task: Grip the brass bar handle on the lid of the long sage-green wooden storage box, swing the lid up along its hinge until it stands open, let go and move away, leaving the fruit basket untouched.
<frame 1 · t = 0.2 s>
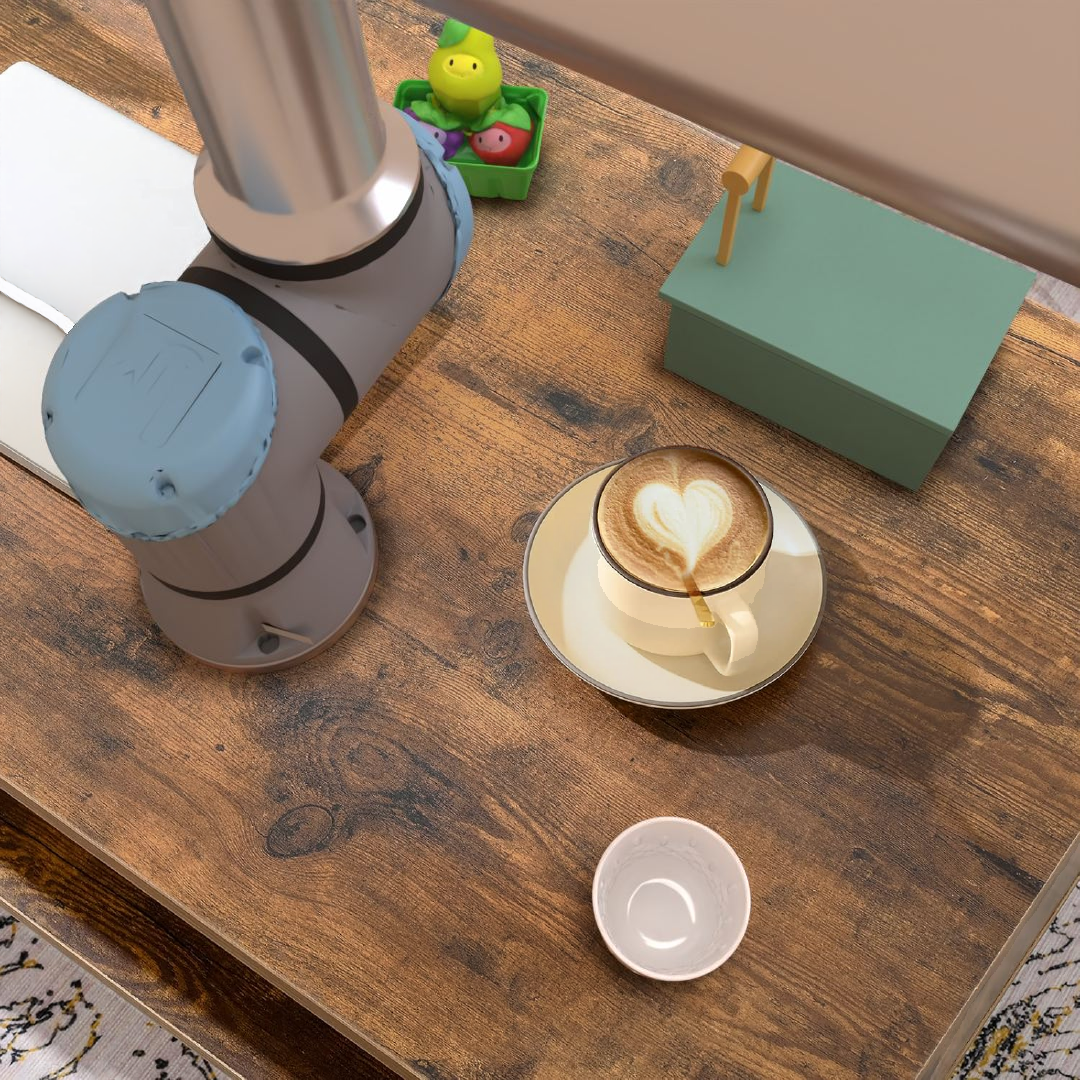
white cup: (658, 915, 67), on the table
lid: (861, 242, 70), point 12 cm above the table, hinge at 0.0°
chest: (828, 357, 81), on the table
fruit basket: (473, 166, 89), on the table
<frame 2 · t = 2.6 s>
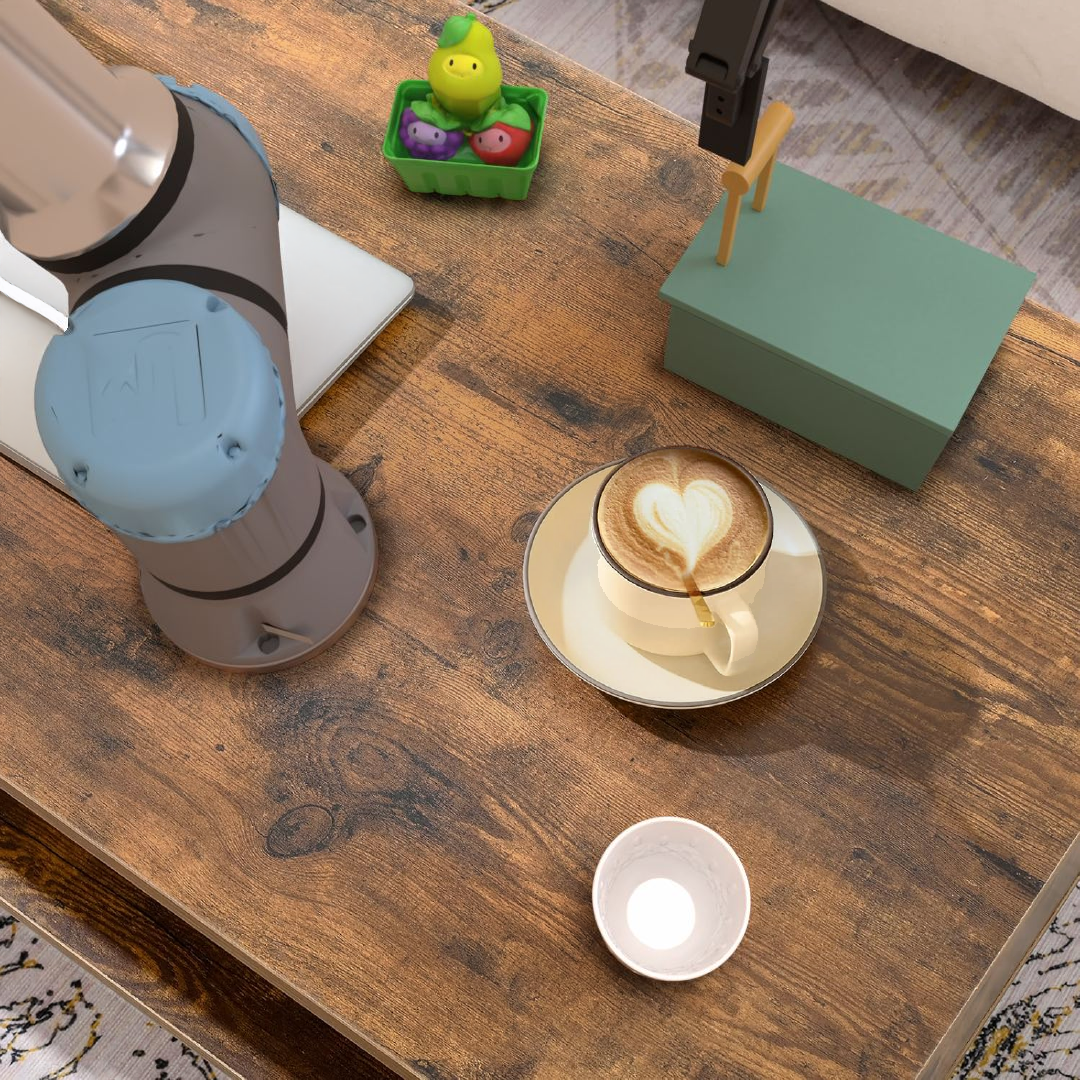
hand: (784, 65, 62), 23 cm above the table, tool pointing down, fingers open, 13 cm apart
nothing on the table moved.
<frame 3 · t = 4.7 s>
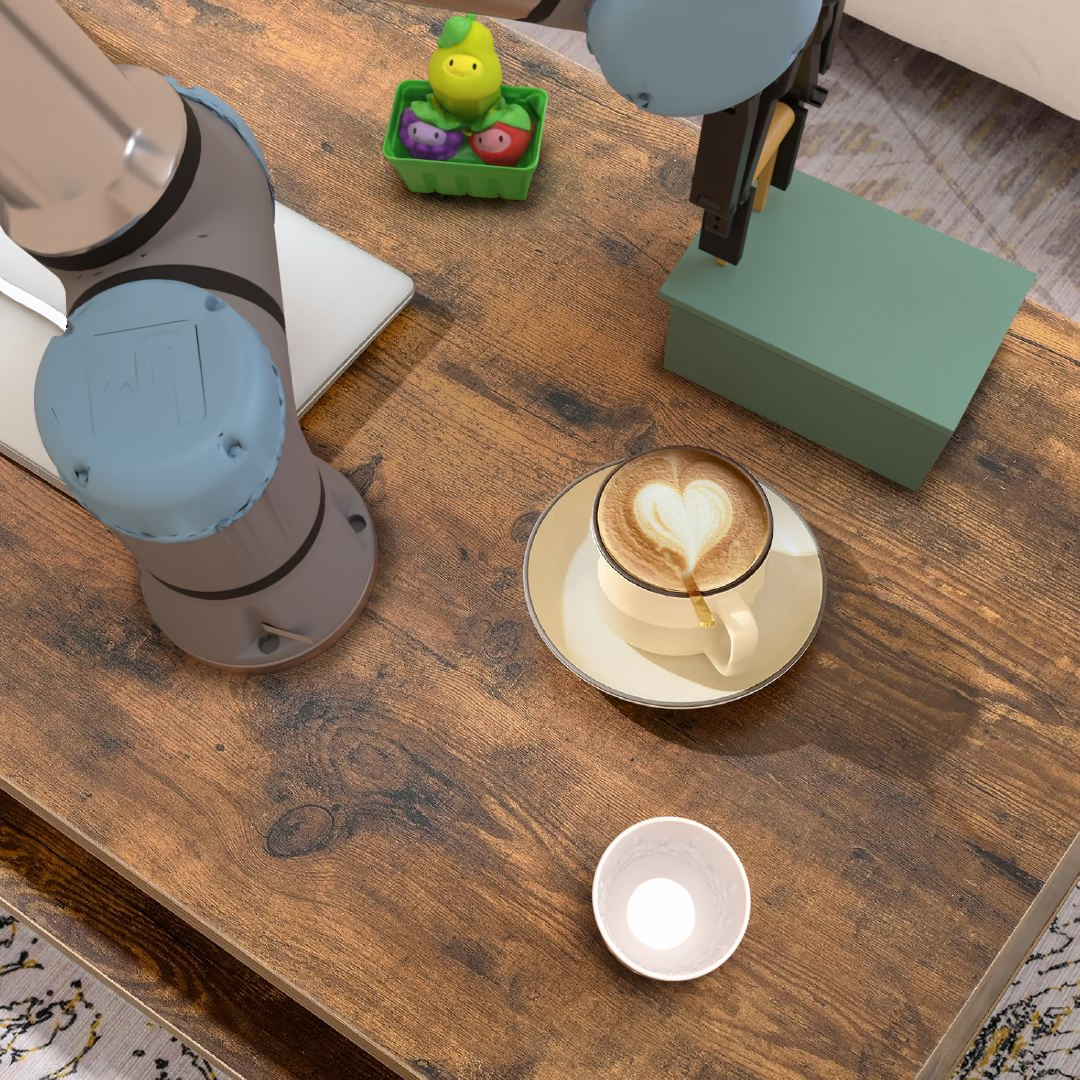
hand: (744, 215, 74), 10 cm above the table, tool pointing down, fingers closed on lid, 6 cm apart
lid: (861, 242, 70), point 12 cm above the table, hinge at 0.0°, touching gripper
everything else where it was.
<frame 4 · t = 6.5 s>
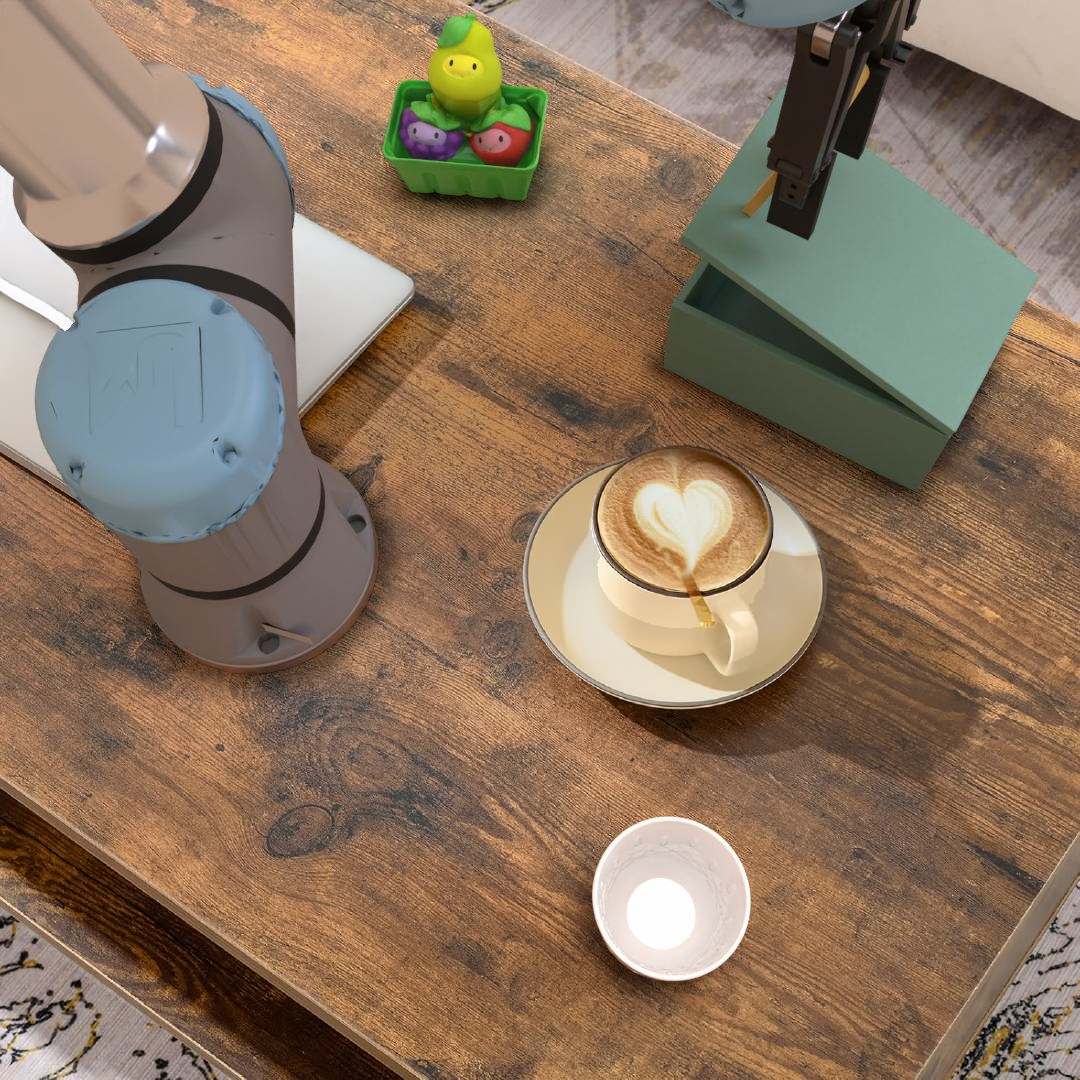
hand: (815, 185, 68), 15 cm above the table, tool pointing down, fingers closed on lid, 6 cm apart
lid: (903, 223, 67), point 15 cm above the table, hinge at 18.4°, touching gripper
everything else where it was.
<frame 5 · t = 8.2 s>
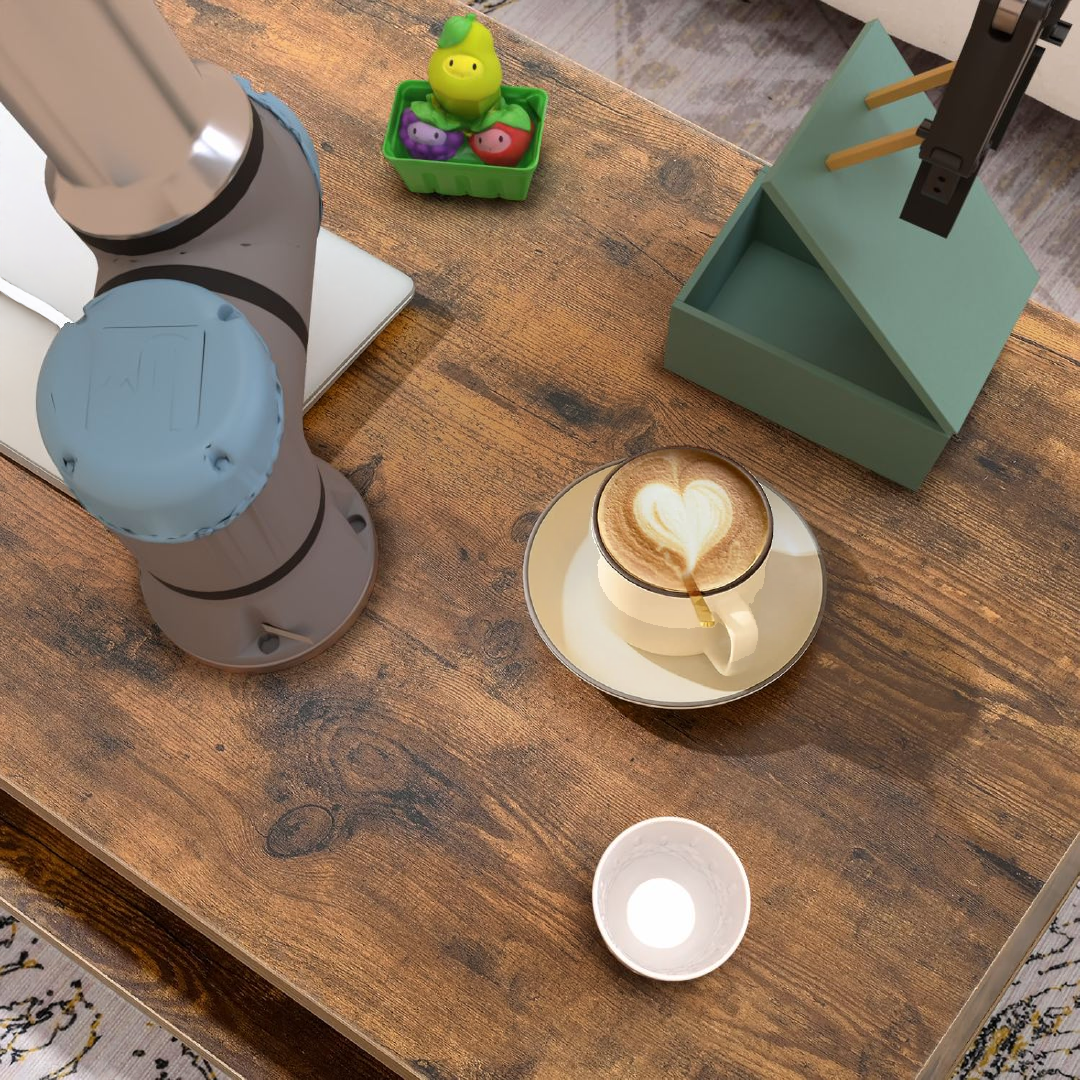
hand: (951, 178, 62), 20 cm above the table, tool pointing down, fingers closed on lid, 6 cm apart
lid: (979, 219, 64), point 18 cm above the table, hinge at 42.8°, touching gripper
everything else where it was.
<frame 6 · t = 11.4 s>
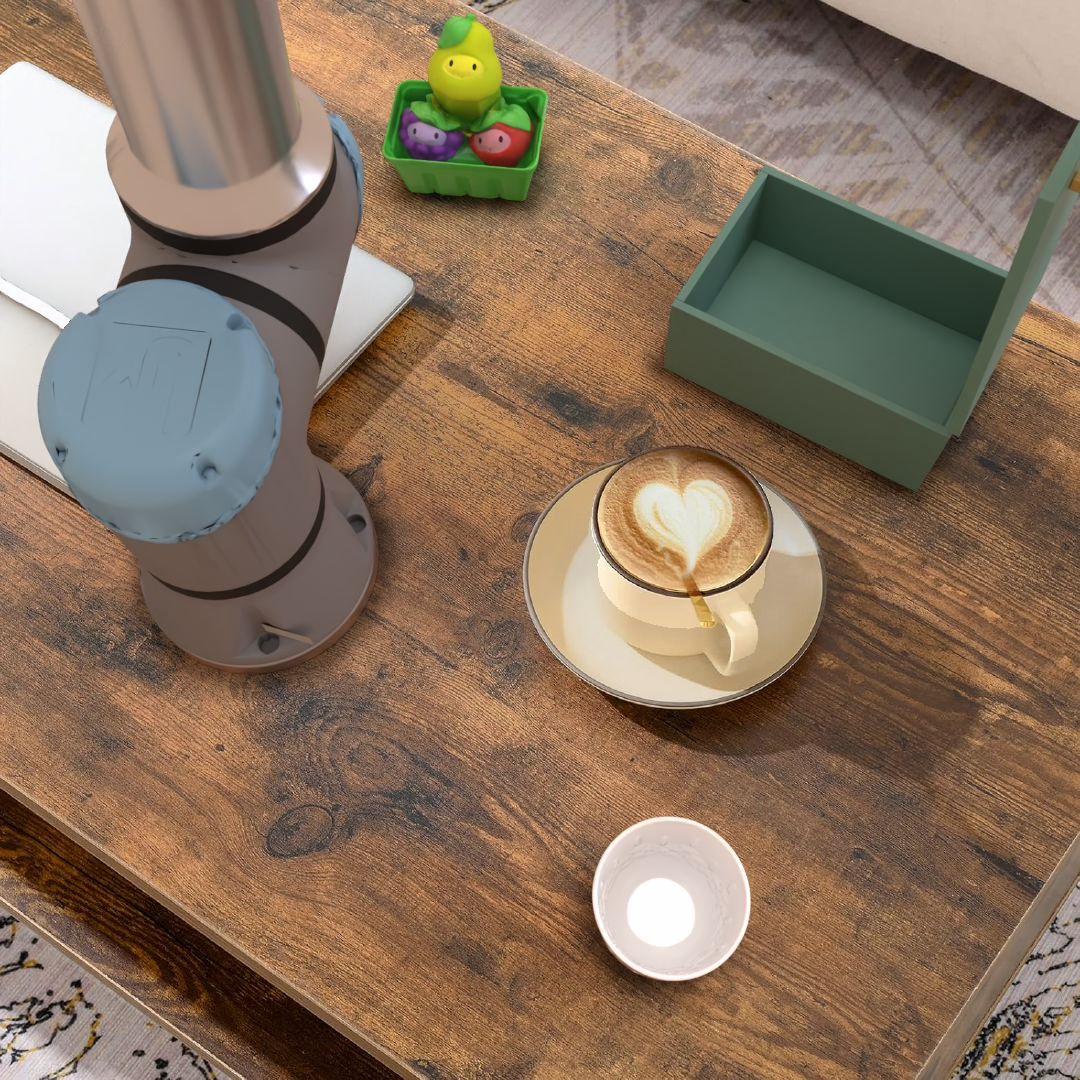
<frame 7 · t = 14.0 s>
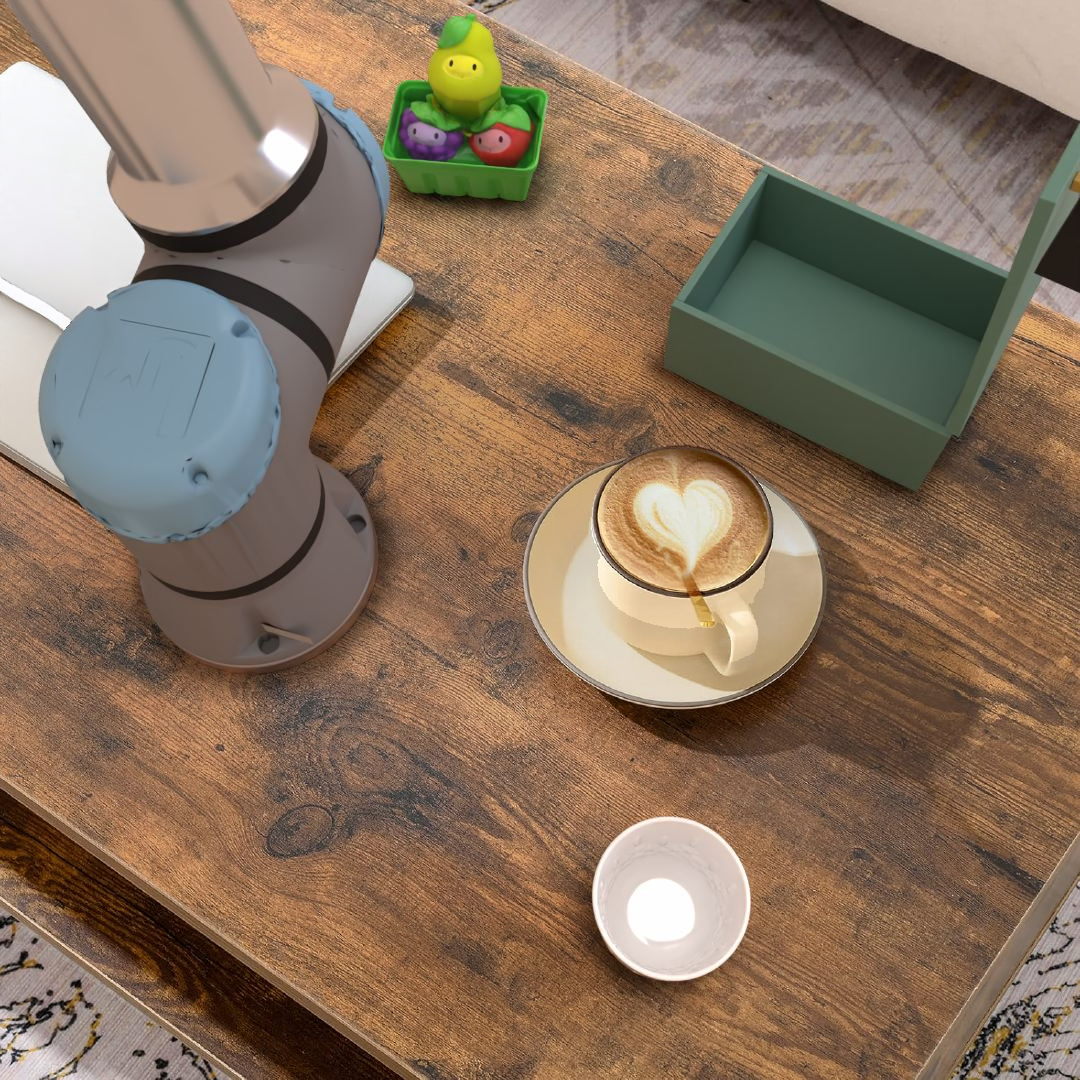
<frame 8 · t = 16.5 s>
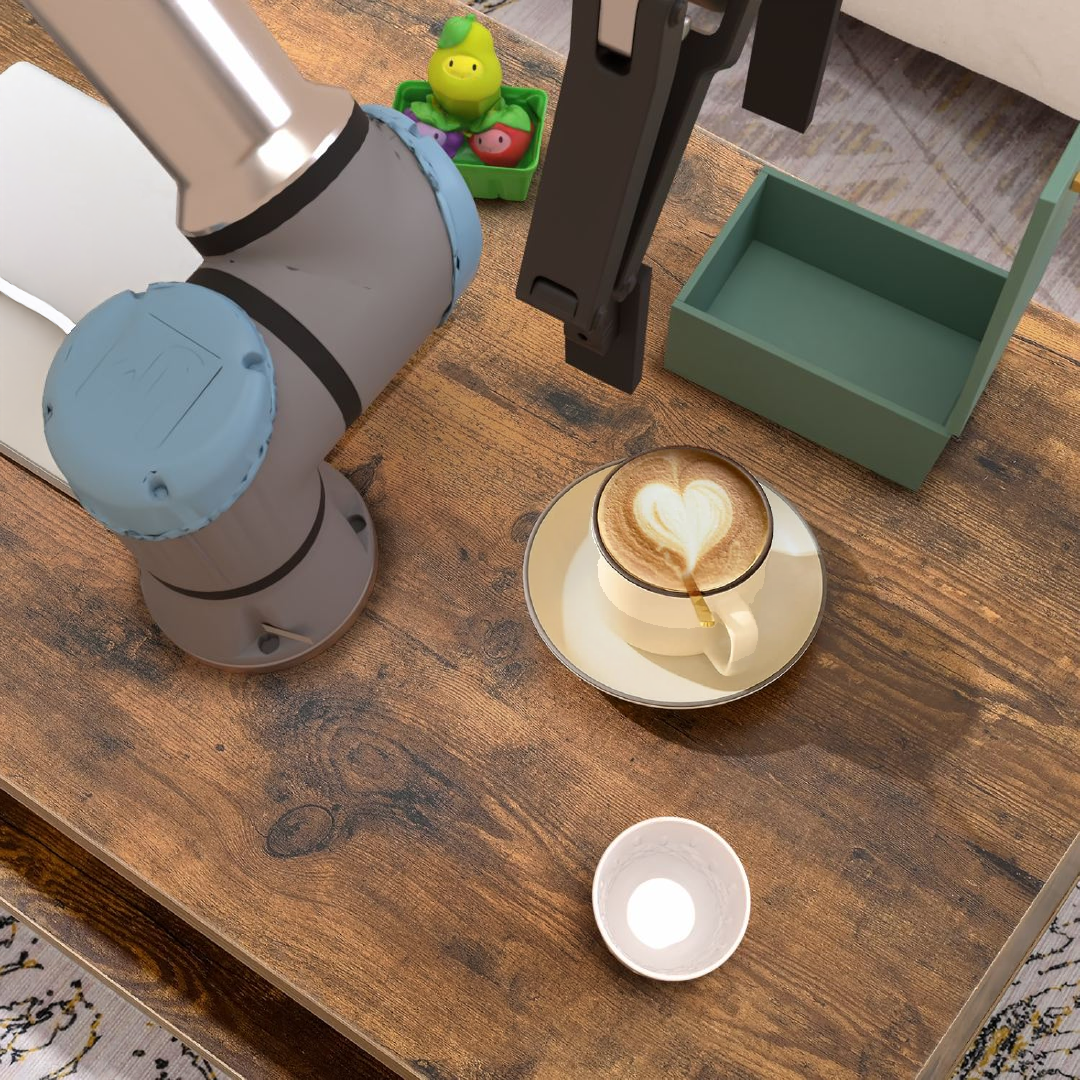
hand: (694, 237, 43), 35 cm above the table, tool pointing down, fingers open, 13 cm apart
at the end: lid at +85° (first picture: +0°); the gripper is holding nothing; fruit basket moved 0.2 cm from its start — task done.
